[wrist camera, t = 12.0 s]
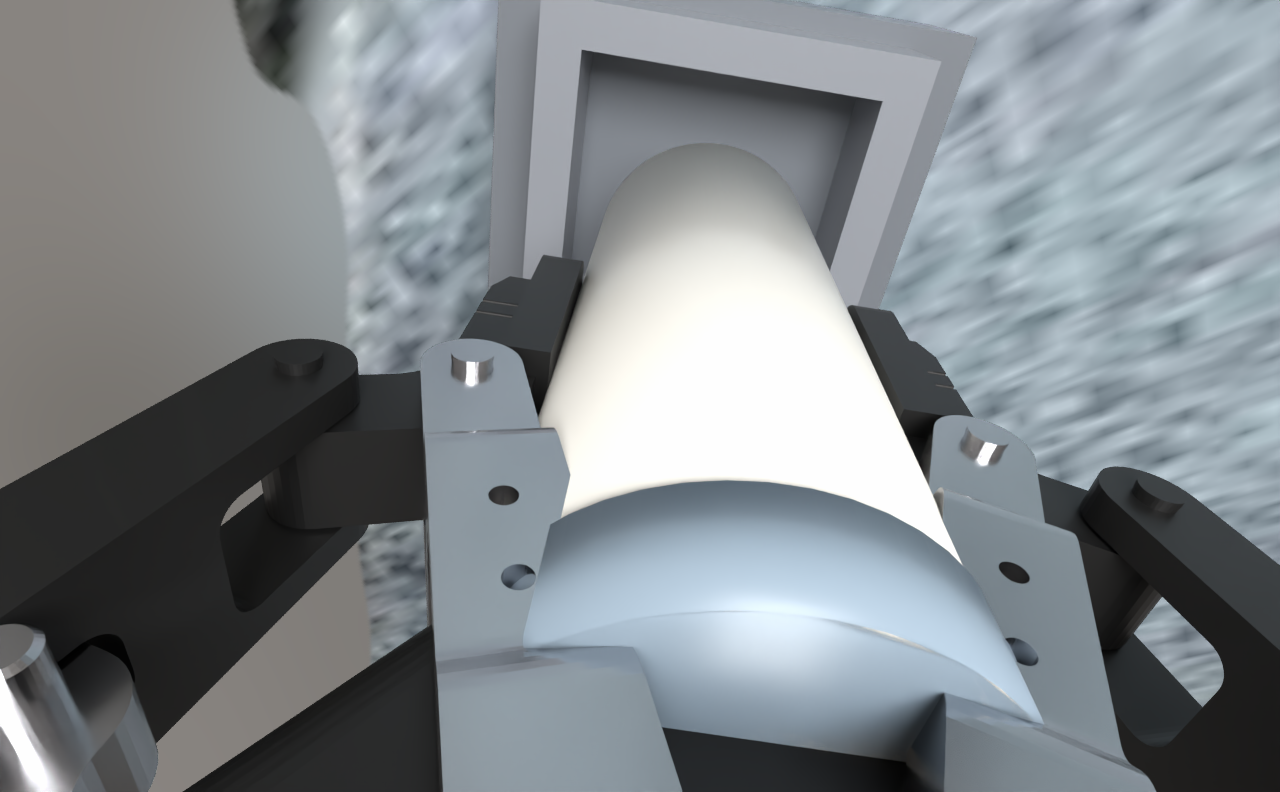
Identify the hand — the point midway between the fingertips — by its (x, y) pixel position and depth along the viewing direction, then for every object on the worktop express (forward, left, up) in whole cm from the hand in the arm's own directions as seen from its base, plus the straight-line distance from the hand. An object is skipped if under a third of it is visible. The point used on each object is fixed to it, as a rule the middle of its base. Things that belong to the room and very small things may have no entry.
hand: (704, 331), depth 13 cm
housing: (-4, -3, -13) cm, 13 cm away
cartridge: (0, 0, -4) cm, 4 cm away
